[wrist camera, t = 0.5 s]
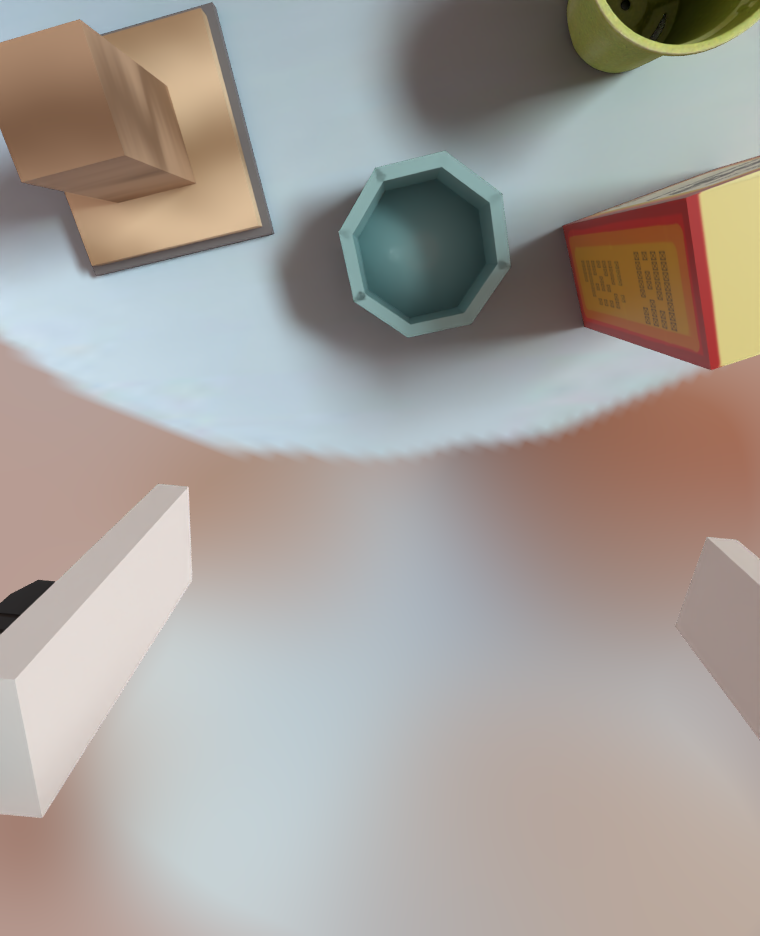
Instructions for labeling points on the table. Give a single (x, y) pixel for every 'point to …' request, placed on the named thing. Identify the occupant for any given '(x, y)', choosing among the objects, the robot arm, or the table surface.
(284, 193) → the table surface
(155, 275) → the table surface
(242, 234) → the mat
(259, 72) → the table surface
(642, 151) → the table surface
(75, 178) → the lid
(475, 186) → the bowl
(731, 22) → the plant pot
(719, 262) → the baking soda box
